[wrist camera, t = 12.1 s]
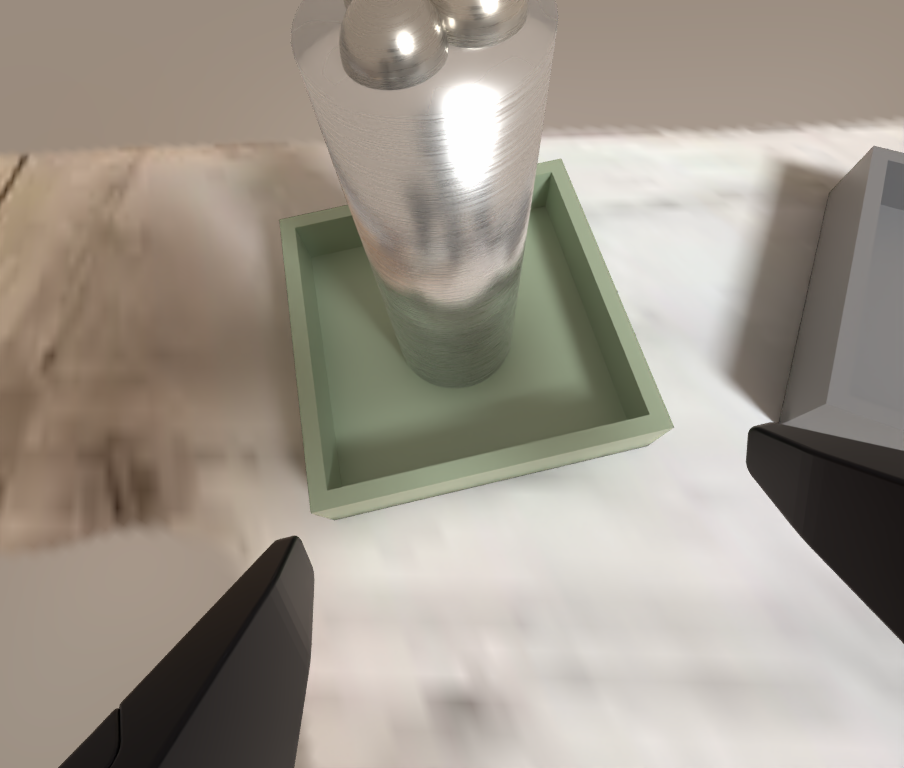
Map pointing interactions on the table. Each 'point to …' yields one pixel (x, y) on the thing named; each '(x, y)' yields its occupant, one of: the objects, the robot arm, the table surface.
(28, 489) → the table surface
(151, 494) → the table surface
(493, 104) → the pebble canister
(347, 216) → the tray
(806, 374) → the tray
